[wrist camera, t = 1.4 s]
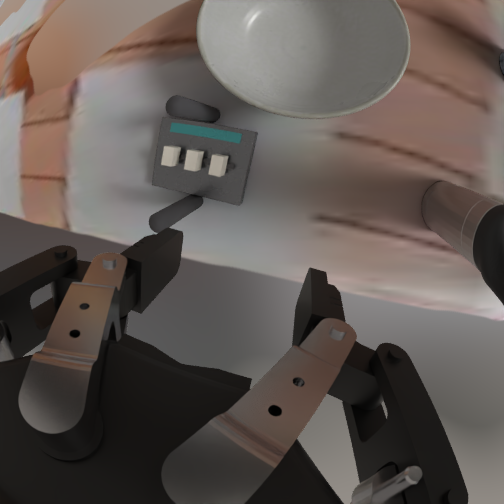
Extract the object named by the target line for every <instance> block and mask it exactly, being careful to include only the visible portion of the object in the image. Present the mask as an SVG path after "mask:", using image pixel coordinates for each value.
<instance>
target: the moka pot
mask: <svg viewBox="0 0 504 504" xmlns="http://www.w3.org/2000/svg"><path fill="white" fill-rule="evenodd" d="M500 66H501V69H502V72H503V75H504V52H503V53H501V55H500Z"/></svg>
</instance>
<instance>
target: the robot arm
mask: <svg viewBox="0 0 504 504" xmlns="http://www.w3.org/2000/svg"><path fill="white" fill-rule="evenodd" d="M422 215H423V218H424V221H425V223H426V224H427V226H428V227H429V228H430V229H432V230H433V231H434V232H435V233H437V234H438V235H439V236H440V237H441V238H443V239H444V240H445V241H446V242H447V243H449V244H450V245H451V246H452V247H453V248H454V249H456V250H457V251H458V252H459V253H460V254H461V255H463V256H464V257H465V258H466V259H467V260H468V261H469V262H470V263H472V264H473V265H474V266H475V267H476V268H477V269H478V270H479V271H480V272H481V274H482V277H483V279H484V281H485V282H486V284H487V285H488V286H489V287H490V289H491V290H492V291H493V292H494V293H495V295H496V296H497V297H498V298H499V300H500V301H501V302H502V303H503V305H504V204H502V203H500V202H498V201H496V200H493V199H491V198H488V197H486V196H484V195H481V194H479V193H476V192H474V191H471V190H469V189H466V188H464V187H461V186H458V185H456V184H453V183H450V182H446V181H440V182H437V183H435V184H433V185H432V186H431V187H430V188H429V189H428V190H427V192H426V193H425V196H424V198H423V202H422ZM182 243H183V232H182V231H179V230H175V229H171V228H168V227H167V228H165V229H164V230H162V231H161V232H159V233H158V234H156V235H155V234H153V235H150V236H146V237H144V238H142V239H141V240H139V242H137V243H135V244H134V245H133V246H131V247H129V248H128V249H126V250H125V251H123V252H122V253H121V254H117V253H102V254H99V255H97V256H95V257H94V258H93V260H92V262H87V261H80V260H77V251H76V249H75V248H73V247H71V246H65V245H62V246H56V247H53V248H50V249H48V250H46V251H44V252H42V253H39V254H37V255H35V256H33V257H30V258H28V259H26V260H24V261H22V262H20V263H18V264H16V265H13V266H11V267H9V268H7V269H5V270H3V271H2V272H0V504H344V503H343V502H342V501H341V499H340V498H339V497H338V496H337V494H336V493H335V492H334V490H333V489H332V488H331V486H330V485H329V484H328V482H327V481H326V479H325V478H324V477H323V475H322V474H321V473H320V471H319V470H318V468H317V467H316V466H315V464H314V463H313V461H312V460H311V459H310V457H309V456H308V454H307V453H306V451H305V450H304V448H303V447H302V446H301V444H300V443H299V441H298V440H297V438H298V436H299V435H300V433H301V432H302V431H303V429H304V428H305V426H306V425H307V423H308V422H309V420H310V419H311V417H312V416H313V414H314V413H315V411H316V410H317V408H318V406H319V405H320V403H321V402H322V400H323V399H324V397H325V395H326V394H329V395H331V396H334V397H336V398H338V399H340V400H342V401H343V402H342V403H343V407H344V412H345V416H346V420H347V425H348V429H349V433H350V438H351V442H352V447H353V452H354V456H355V461H356V466H357V471H358V476H359V481H360V484H359V485H357V487H356V488H355V489H354V491H353V494H352V501H351V503H350V504H468V492H467V489H466V486H465V483H464V480H463V477H462V474H461V471H460V468H459V465H458V463H457V460H456V457H455V455H454V452H453V450H452V447H451V445H450V442H449V440H448V437H447V435H446V432H445V430H444V428H443V426H442V423H441V421H440V419H439V417H438V414H437V412H436V410H435V408H434V405H433V403H432V401H431V399H430V397H429V395H428V393H427V391H426V389H425V387H424V385H423V383H422V381H421V379H420V377H419V375H418V373H417V371H416V369H415V367H414V365H413V363H412V361H411V359H410V357H409V356H408V354H407V353H406V352H405V351H404V350H403V349H401V348H400V347H399V346H396V345H394V344H391V343H382V344H380V345H379V346H378V348H377V349H376V351H374V350H372V349H369V348H368V347H366V346H363V345H361V344H360V343H358V342H357V341H356V338H357V335H356V332H355V331H354V329H353V328H352V327H351V326H350V325H349V324H347V323H346V322H345V316H344V311H343V307H342V306H343V305H342V301H341V295H340V292H339V291H338V290H337V288H336V287H335V286H334V285H330V284H328V281H327V274H326V272H324V271H321V270H317V269H314V268H309V270H308V273H307V275H306V278H305V281H304V284H303V287H302V290H301V292H300V295H299V298H298V301H297V305H296V309H295V319H294V330H293V341H292V342H293V343H292V347H291V348H290V350H289V351H288V352H287V353H286V354H285V355H284V356H283V357H282V358H281V359H280V360H279V361H278V362H277V363H276V364H275V365H274V366H273V367H272V368H271V369H270V370H269V371H268V372H267V373H266V374H265V375H264V376H263V377H262V379H260V381H258V382H257V383H256V384H255V385H254V386H253V387H252V388H251V389H250V384H251V380H252V379H251V378H247V377H243V376H240V375H236V374H233V373H229V372H226V371H223V370H220V369H214V368H206V367H199V366H191V365H185V364H181V363H179V362H177V361H176V360H174V359H172V358H171V357H169V356H168V355H166V354H165V353H163V352H162V351H160V350H159V349H157V348H156V347H154V346H152V345H150V344H148V343H145V342H143V341H141V340H138V339H136V338H134V337H131V336H129V335H127V334H126V333H127V327H128V320H129V316H128V313H129V312H130V311H131V310H133V311H136V312H138V313H142V312H143V311H144V310H145V309H146V308H147V307H148V305H149V304H150V303H151V302H152V301H153V300H154V299H155V298H156V296H157V295H158V294H159V293H160V292H161V291H162V290H163V289H164V287H165V286H166V285H167V284H168V283H169V282H170V281H171V280H172V279H173V277H174V276H175V275H176V274H177V272H178V269H179V266H180V260H181V251H182ZM49 283H50V286H51V292H52V298H51V299H49V300H47V301H46V302H44V303H42V304H40V305H39V306H37V307H36V308H34V309H31V305H30V297H31V295H32V294H33V293H34V292H35V291H36V290H38V289H40V288H42V287H44V286H45V285H47V284H49ZM43 341H45V343H44V345H43V348H42V350H41V351H38V352H36V353H35V354H33V355H29V356H25V357H22V356H24V355H25V354H26V353H28V352H29V351H31V350H32V349H33V348H35V347H36V346H38V345H39V344H40V343H42V342H43ZM383 400H384V402H385V405H386V408H387V412H388V416H387V419H386V416H385V413H384V410H383V407H382V405H381V403H382V401H383Z"/></svg>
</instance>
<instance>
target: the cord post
mask: <svg viewBox="0 0 504 504" xmlns="http://www.w3.org/2000/svg"><path fill="white" fill-rule="evenodd" d="M202 204H203V198H202V196H198V195H194V194H191V195H189V196H187V197H185V198H183V199H181V200H180V201H178V202H176V203H174V204H172V205H170V206H168V207H166V208H164V209H162V210H160V211H158V212H157V213H155V214H153V215H151V217H150V219H149V225H150V228H151V229H152V230H153V231H154V232H156V233H159V232H161V231H162V230H164V229H165V228H167V227H168V228H169V227H170V226H172V225H173V224H175V223H176V222H178V221H179V220H181V219H182V218H184V217H185V216H187V215H188V214H190V213H191V212H193V211H194V210H196V209H197V208H199V207H200V206H201V205H202Z"/></svg>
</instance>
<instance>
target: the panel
mask: <svg viewBox="0 0 504 504" xmlns="http://www.w3.org/2000/svg"><path fill="white" fill-rule="evenodd" d="M257 135H258V133H257V132H253V131H248V130H243V129H238V128H232V127H227V126H221V125H216V124H209V123H203V122H196V121H189V120H182V119H173V118H164V117H163V118H162V123H161V129H160V134H159V140H158V146H157V152H156V159H155V166H154V173H153V181H152V185H154V186H159V187H163V188H168V189H172V190H176V191H181V192H185V193H189V194H194V195H198V196H202V197H206V198H210V199H214V200H218V201H222V202H226V203H230V204H234V205H238V206H240V205H241V204H242V201H243V196H244V192H245V187H246V183H247V178H248V174H249V169H250V165H251V161H252V156H253V152H254V147H255V143H256V139H257ZM164 146H177V147H181V150H180V156H179V162H178V165H176V166H172V167H170V166H165V165H161V162H162V156H163V150H164ZM192 149H194V150H200V151H204V154H203V159H202V165H201V170H198V171H190V170H185V169H184V166H185V160H186V154H187V150H192ZM213 154H220V155H225V156H228V161H227V166H226V170H225V175H223V176H221V177H218V176H214V175H209V168H210V163H211V158H212V155H213Z"/></svg>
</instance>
